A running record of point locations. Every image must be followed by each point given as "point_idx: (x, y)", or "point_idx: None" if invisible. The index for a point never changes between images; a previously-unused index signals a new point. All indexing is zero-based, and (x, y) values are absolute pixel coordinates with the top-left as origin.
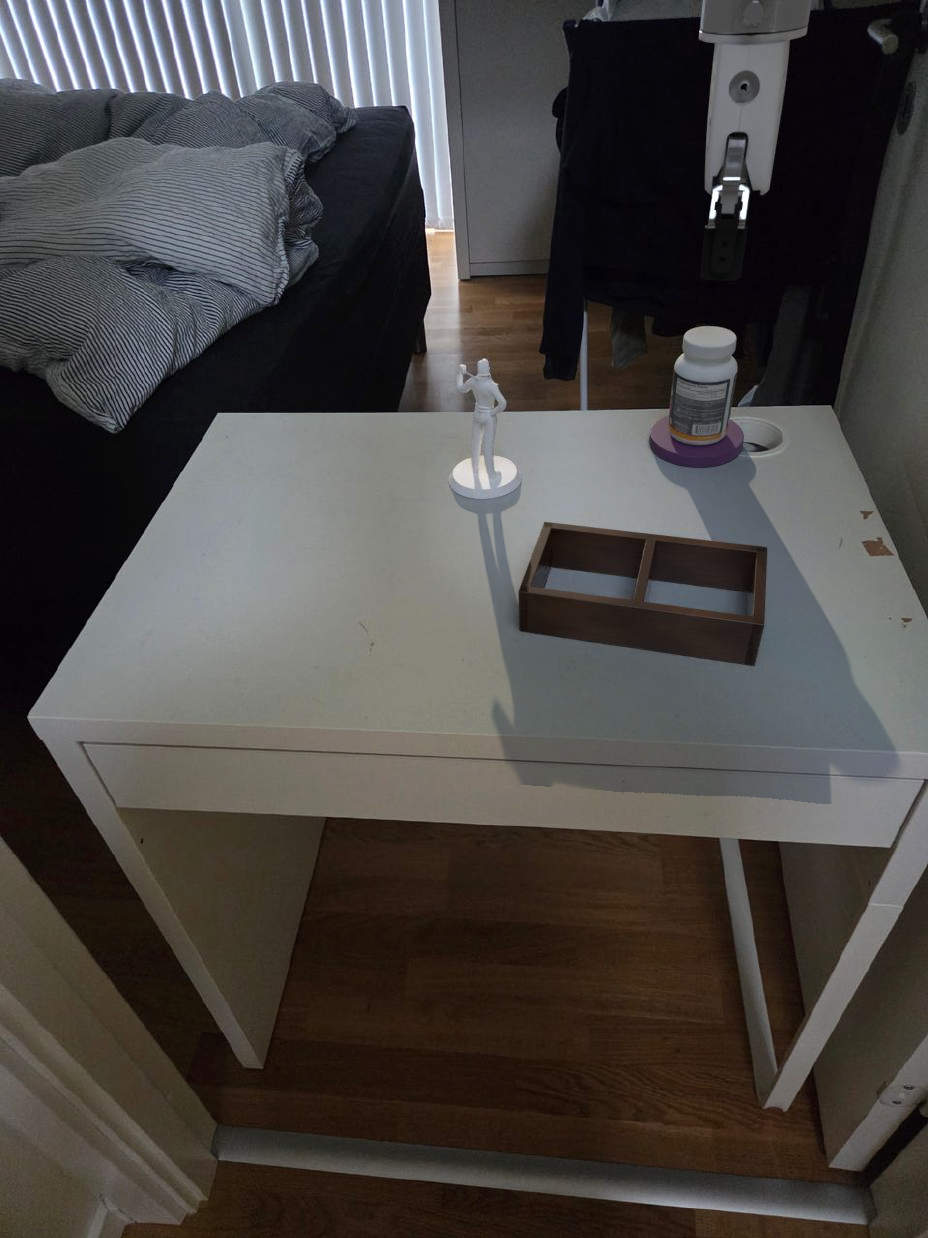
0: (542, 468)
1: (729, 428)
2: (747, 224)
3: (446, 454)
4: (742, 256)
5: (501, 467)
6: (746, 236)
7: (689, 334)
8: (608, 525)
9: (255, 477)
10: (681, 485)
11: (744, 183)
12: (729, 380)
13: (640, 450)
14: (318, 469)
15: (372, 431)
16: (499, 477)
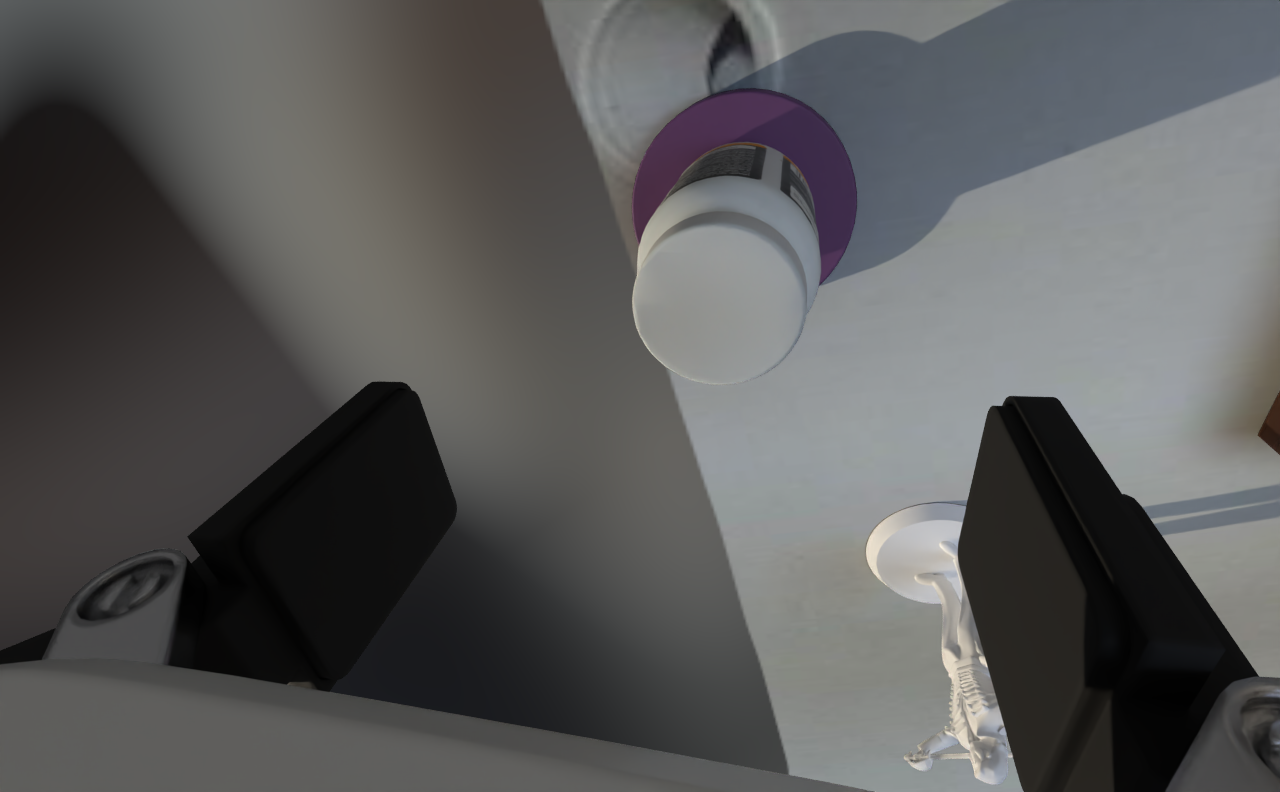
0: (889, 476)
1: (699, 137)
2: (358, 419)
3: (856, 608)
4: (1102, 481)
5: (920, 542)
6: (1177, 585)
7: (713, 371)
8: (1121, 339)
9: (950, 786)
10: (939, 211)
11: (201, 628)
12: (784, 191)
13: None
14: (921, 735)
15: (798, 694)
16: (957, 541)
